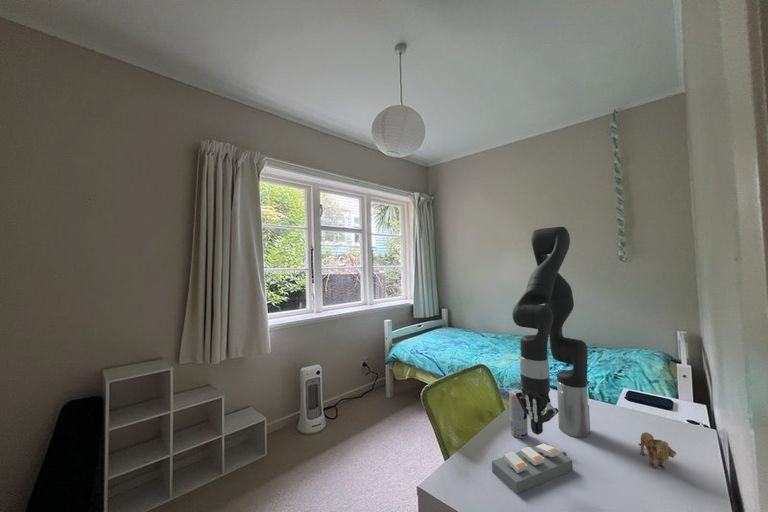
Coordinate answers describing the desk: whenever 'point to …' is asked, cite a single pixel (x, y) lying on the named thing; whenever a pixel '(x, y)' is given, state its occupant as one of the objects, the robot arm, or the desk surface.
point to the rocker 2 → (547, 450)
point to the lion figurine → (656, 449)
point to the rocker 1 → (515, 462)
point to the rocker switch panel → (532, 471)
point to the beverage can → (517, 416)
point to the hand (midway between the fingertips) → (536, 432)
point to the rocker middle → (531, 456)
